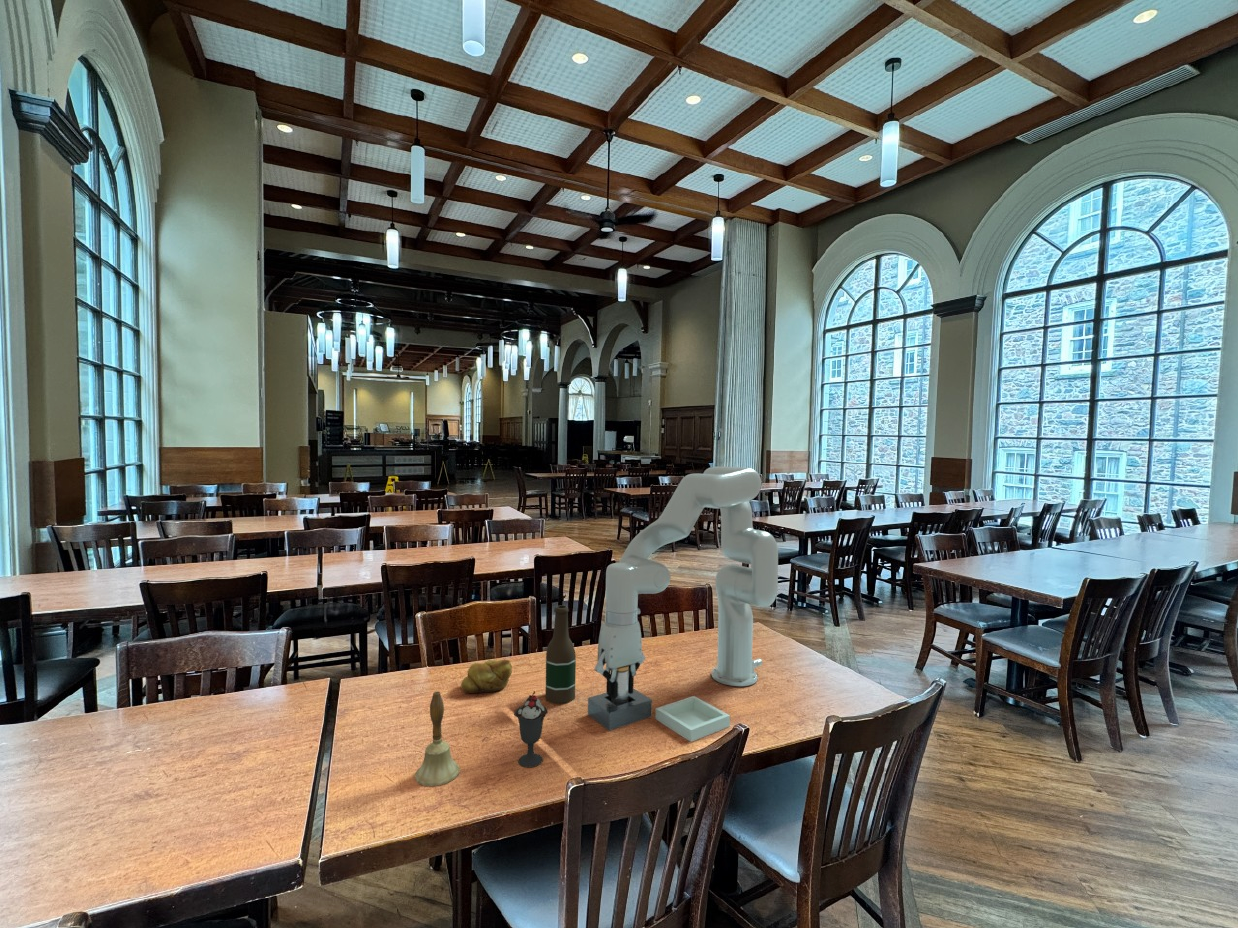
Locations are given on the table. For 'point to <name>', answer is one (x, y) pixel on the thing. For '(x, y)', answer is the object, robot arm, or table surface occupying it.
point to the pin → (622, 686)
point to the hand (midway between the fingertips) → (620, 693)
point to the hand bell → (437, 752)
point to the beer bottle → (560, 661)
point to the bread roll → (487, 676)
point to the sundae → (530, 728)
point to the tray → (692, 718)
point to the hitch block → (619, 710)
